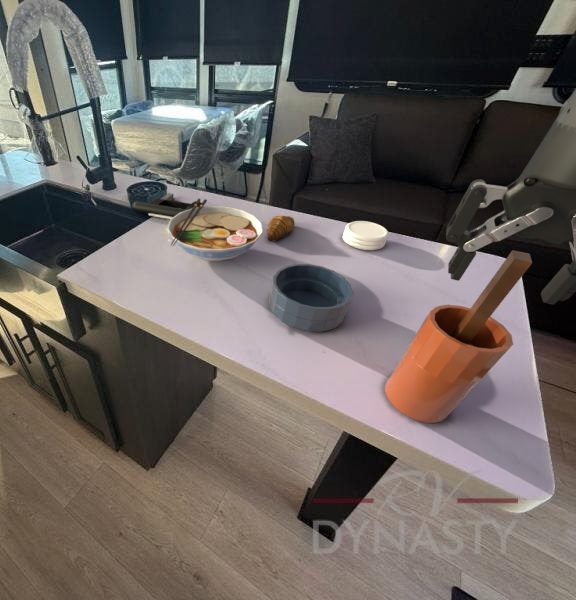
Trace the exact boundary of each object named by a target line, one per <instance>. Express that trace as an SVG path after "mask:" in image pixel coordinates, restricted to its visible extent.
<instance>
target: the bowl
mask: <svg viewBox="0 0 576 600" xmlns="http://www.w3.org/2000/svg"><path fill="white" fill-rule="evenodd" d="M271 282H272V283H271V286H270V292H269V297H268V306H269V308H270V311H271V312H272V314H273V315H274V316H275V317H276V318H277V319H278V320H279V321H280V322H282V323H284V324H286V325H288V326H290V327H292V328H294V329H298V330H301V331H305V332H325V331H330V330H334V329H336V328H337V327H338V326H339V325H341V324H342V323H343V322H344V319H345V316H346V313H347V311H348V308H349V307H350V304H351V301H352V298H353V295H354V291H353V290H354V289H353V286H352V284H351V283H350V282H349V281H348V279H347V278H346V277H345V276H343V275H342V274H340V273H339V272H337V271H335V270H334V269H330V268H327V267H325V266H322V265H316V264H312V263H311V264H310V263H293V264H290V265H285V266H284V267H282V268H280V269H278V270H276V272H275V273H274V275H273V277H272V281H271Z"/></svg>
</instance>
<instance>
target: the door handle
mask: <svg viewBox="0 0 576 600" xmlns="http://www.w3.org/2000/svg"><path fill="white" fill-rule="evenodd" d="M196 202H197V200H195V201H192V202H191V203H189V202H182V201H178V200H177V201H176V200H174V193H171V192H169V193H167V194H165V195H164V196H162V198H154V200H152V201H151V202H149V203H148V202H143V201H133V202H132V204H131V210H132V211H134V212H137V213H143V214H148V216H149V217H157V218H161V219H169V220H170V219H172V218H173V217H174V216H176V215H177V214H179V213H180V212H183V211H186V210H189V209H192V208H193V207H194V205H195V203H196ZM201 204H202V202H201V201H200V202H199V204H198V205H197V207H196V208H198V207H200V205H201Z"/></svg>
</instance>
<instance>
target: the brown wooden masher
mask: <svg viewBox="0 0 576 600" xmlns="http://www.w3.org/2000/svg"><path fill="white" fill-rule="evenodd" d="M532 264H533V261H532V258H531V254H530V253H528V252H523V251H518V250H511V251H510V253H509V254H508V255H507V257H506V259H505V260H504V261H503V262H502V264H501V265H500V266H499V268H498V270H497V271H496V272H495V274H494V275H493V276H492V278H491V279H490V281H489V282H488V283H487V285H486V286H485V288H484V289H483V290H482V292H481V293H480V295H479V296H478V297H477V298H476V300H475V301H474V303H473V304H472V306H471V307H470V308H471V309H470V310H469V311H468V313H467V314H466V315H465V317H464V318H463V320H462V321H461V322H460V324H459V325H458V327H457V328H456V329H455V331H454V332H453V334H448V333H446V334H448V335H449V336H451V337H453V338H455V339H456V340H458V341H460V342H462V343H465V344H468V345H471V346H473V345H472V344H471V343H470V342H471V340H472V339H473V338H474V336H475V335H476V334H477V333H478V331H479V330H480V329H481V328H482V326H483V325H484V324H485V322H486V321H487V320H488V319H489V317H492V315H493V313H495V311H496V310H497V309H498V307H499V306H500V305H501V303H503V301H504V300H505V298H506V297H507V296H508V295H509V294H510V292H511V291H512V290H513V288H514V287H515V285H517V283H518V282H519V281H520V279H521V278H522V277H523V276H524V275H525V273H526V272H527V271H528V270H529V268H530V267H531V265H532Z"/></svg>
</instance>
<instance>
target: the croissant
mask: <svg viewBox="0 0 576 600" xmlns="http://www.w3.org/2000/svg"><path fill="white" fill-rule="evenodd" d="M295 225H296V224H295V219H294V218H293V216H290V215H289V216H286V215H275V216H273V217H272V219H270V221H269V223H268V224H267V229H266V234H267V241H269V242H276V241H278V240H280V239H282V238H283V237H286V235H289V234H290V233H291V232H292V231H293V230H294V227H295Z"/></svg>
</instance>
